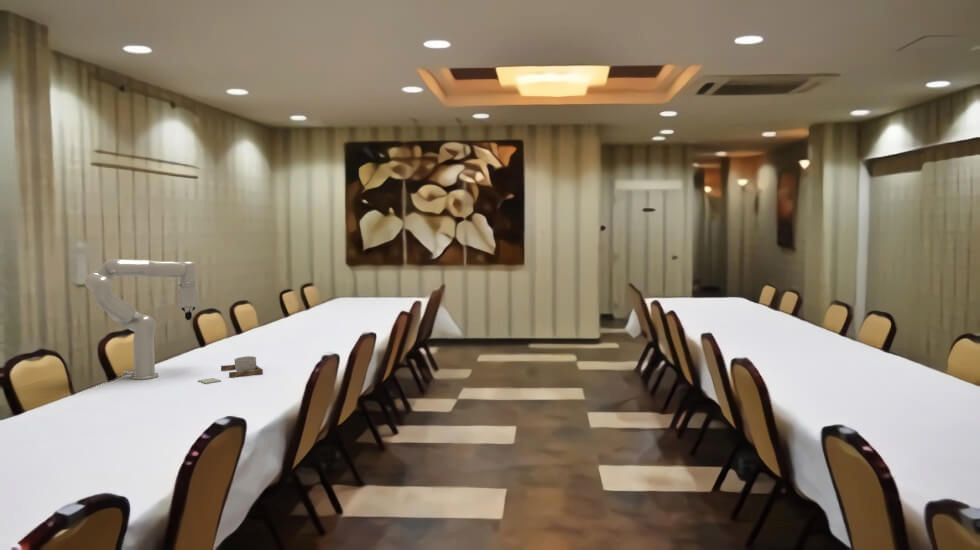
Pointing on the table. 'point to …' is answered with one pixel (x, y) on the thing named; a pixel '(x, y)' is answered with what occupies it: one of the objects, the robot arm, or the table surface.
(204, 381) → the coaster
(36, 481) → the table surface
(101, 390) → the table surface
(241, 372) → the bay
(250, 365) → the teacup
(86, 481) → the table surface
